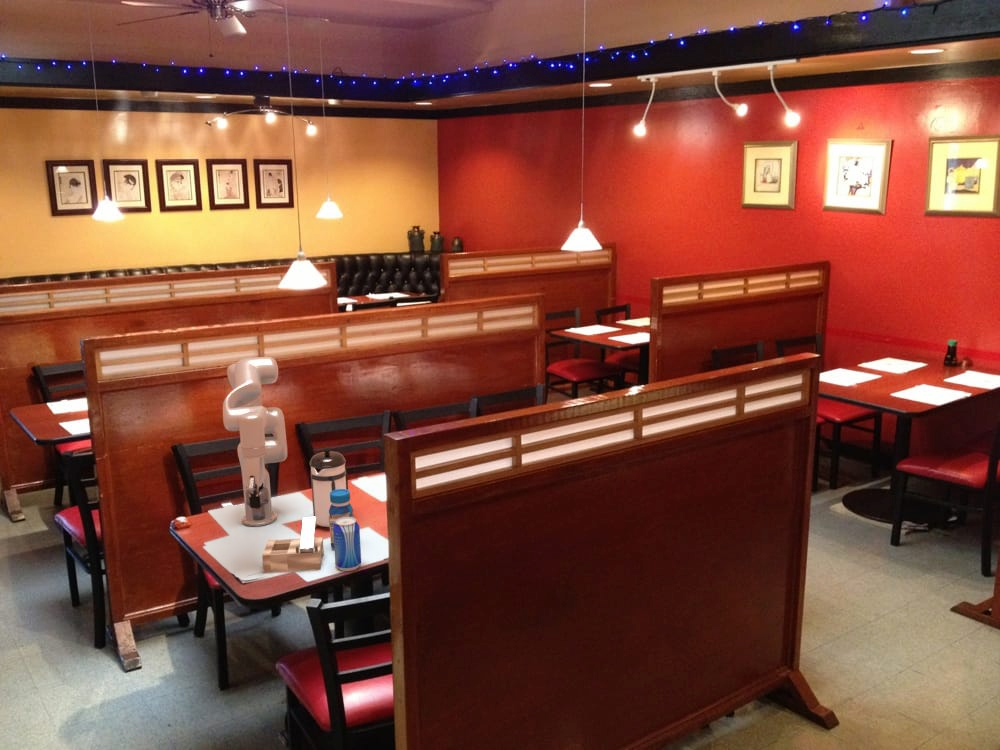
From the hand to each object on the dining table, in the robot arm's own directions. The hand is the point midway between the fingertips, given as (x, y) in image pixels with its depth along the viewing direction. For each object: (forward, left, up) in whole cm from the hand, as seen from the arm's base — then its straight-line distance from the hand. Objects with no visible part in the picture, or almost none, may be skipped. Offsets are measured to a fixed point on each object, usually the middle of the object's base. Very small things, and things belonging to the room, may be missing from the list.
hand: (257, 502), depth 273 cm
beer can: (+5, +28, -22) cm, 36 cm away
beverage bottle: (-11, +25, -22) cm, 35 cm away
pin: (0, 0, -5) cm, 5 cm away
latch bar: (0, +15, -13) cm, 20 cm away
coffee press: (-32, +20, -22) cm, 44 cm away
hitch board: (0, +10, -22) cm, 24 cm away
